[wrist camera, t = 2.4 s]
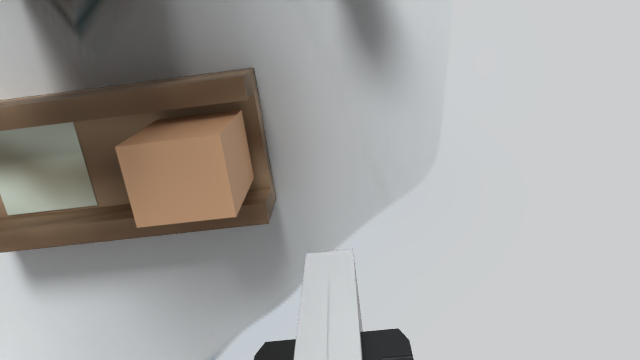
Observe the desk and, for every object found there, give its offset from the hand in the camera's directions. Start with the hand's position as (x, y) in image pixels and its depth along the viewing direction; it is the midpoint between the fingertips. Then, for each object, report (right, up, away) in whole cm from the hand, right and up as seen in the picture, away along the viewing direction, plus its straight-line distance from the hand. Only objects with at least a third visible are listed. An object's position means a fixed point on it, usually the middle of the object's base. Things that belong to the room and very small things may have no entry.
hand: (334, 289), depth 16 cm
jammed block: (-8, +6, +19) cm, 22 cm away
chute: (-15, +5, +21) cm, 27 cm away
